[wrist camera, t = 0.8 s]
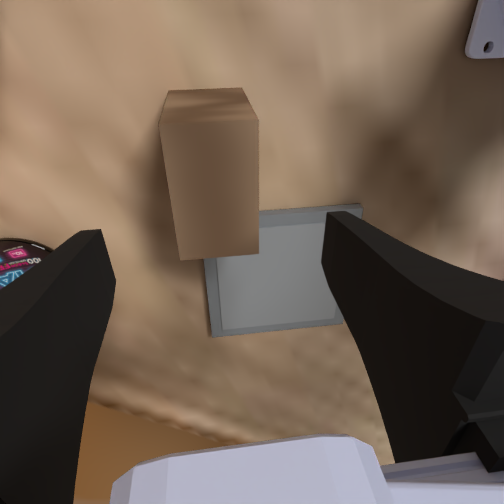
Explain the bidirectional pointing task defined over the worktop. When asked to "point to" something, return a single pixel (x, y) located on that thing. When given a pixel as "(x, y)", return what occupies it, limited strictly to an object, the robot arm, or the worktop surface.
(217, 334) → the slate coaster
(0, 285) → the supplement container
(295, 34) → the worktop surface
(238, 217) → the walnut block
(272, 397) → the worktop surface
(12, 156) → the worktop surface
